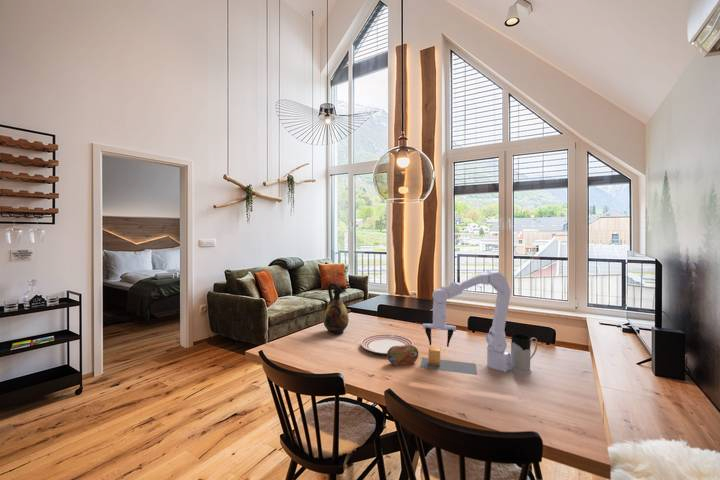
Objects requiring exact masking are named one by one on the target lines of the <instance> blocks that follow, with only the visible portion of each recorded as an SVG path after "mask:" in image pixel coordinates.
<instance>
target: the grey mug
mask: <svg viewBox="0 0 720 480" xmlns="http://www.w3.org/2000/svg"><path fill="white" fill-rule="evenodd" d="M534 339H535V346H534V351H533V353H532V352H531V345H532V341H533V340H534ZM537 350H538V339H537V338H536V337H531V336H528V335H526V334H521V333H513V334H512V335H511V342H510V355H511V372H513V373H515V374H519V375H530V374H532V370H531V359H533V357H534V356H535V354H536V352H537ZM531 353H532V354H531Z"/></svg>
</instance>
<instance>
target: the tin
mask: <svg viewBox="0 0 720 480" xmlns="http://www.w3.org/2000/svg"><path fill="white" fill-rule="evenodd" d="M386 358H387V360H388V362H389V363H390V364H391V365H392V366H402V365H410V364H414V363H415V362H416V361H417V360H418V358H419V350H418V349H417V347H416V346H414V345H413V346H412V345H400V346H393V347H391V348H390V349H389V350H388V352H387V354H386Z"/></svg>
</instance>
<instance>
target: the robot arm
mask: <svg viewBox="0 0 720 480" xmlns="http://www.w3.org/2000/svg"><path fill="white" fill-rule="evenodd" d="M480 284H481V285H490V286H491V287H493V289H494V291H496V294H497V295H496V300H495V307H494V312H493V318H492V323H491V324H492V325H491V327H490V328H489V331H488V333H487V334H486V335H485V340H486V342H487V343H486V344H488V346H487V347H486V348H487V349H486V366H487V367H488V368H489V369H492V370H497V371H501V372H504V373H506V372H507V371H511V352H510V353H509V352H507V351H506V349H507V346H508V345H507V340H506V339H507V335H506V332H505V328H506V323H507V321H506V320H507V316H508V310H509V305H510V299H511V291H512V290H511V288H510V285H509V283H508V281H507V277H506V276H504V275H503V274H502V273H501V272H498V271H496V270H493V269H490V270H487V271H484V272H481V273H478V274H476V275H474V276H472V277H470V278H468V279H466V280H463V281H461V282H457V281H455V282H454V281H451V282H450V284H448V285H445V286H441V287H440V288H436V289H434V291H432V294H431V296H432V299H433V302H432V323H422V330H424V331H425V332H424V333H425V334H426V336H427V339H428V342H429V343H428V344H429V346H432V330H438V331H439V330H440V331H441V330H442V331H447V339H446V340H447V341H446V347H447V348H449V345H450V343H451V342H450V341H451V339H452V337H453V334H454V332H457V326H456V325H451V324H447V306H446V302H447V300H450V299H452V298H454V297H456V296H459V295H461V294H463V291H464V290H467V289H469V288H472V287H474V286H477V285H480ZM511 372H512V371H511Z"/></svg>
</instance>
